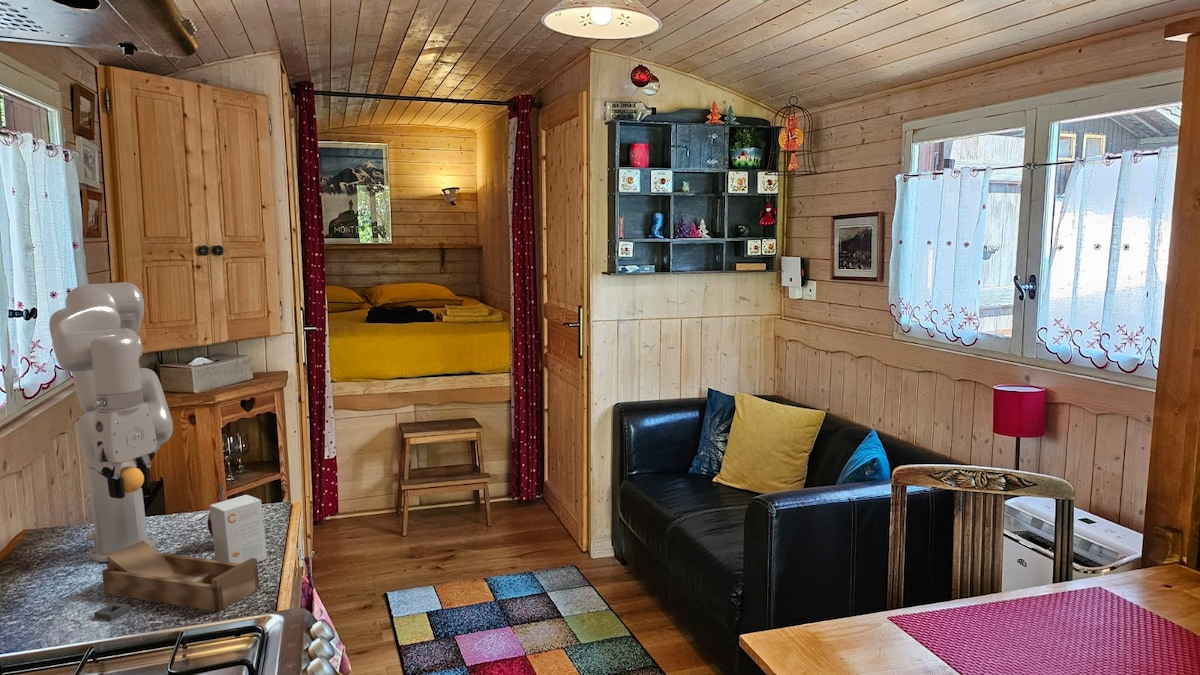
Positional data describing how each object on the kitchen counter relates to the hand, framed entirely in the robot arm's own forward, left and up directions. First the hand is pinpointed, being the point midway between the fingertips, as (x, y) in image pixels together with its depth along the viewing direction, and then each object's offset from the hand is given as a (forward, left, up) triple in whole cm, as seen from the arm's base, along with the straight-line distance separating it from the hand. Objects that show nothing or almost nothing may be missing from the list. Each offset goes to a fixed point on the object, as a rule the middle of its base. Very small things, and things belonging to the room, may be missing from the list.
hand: (130, 491), depth 158 cm
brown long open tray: (+10, 0, -19) cm, 21 cm away
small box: (+11, +14, -19) cm, 26 cm away
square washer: (+5, -11, -19) cm, 22 cm away
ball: (0, 0, +2) cm, 2 cm away
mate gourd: (+1, +21, -19) cm, 29 cm away
